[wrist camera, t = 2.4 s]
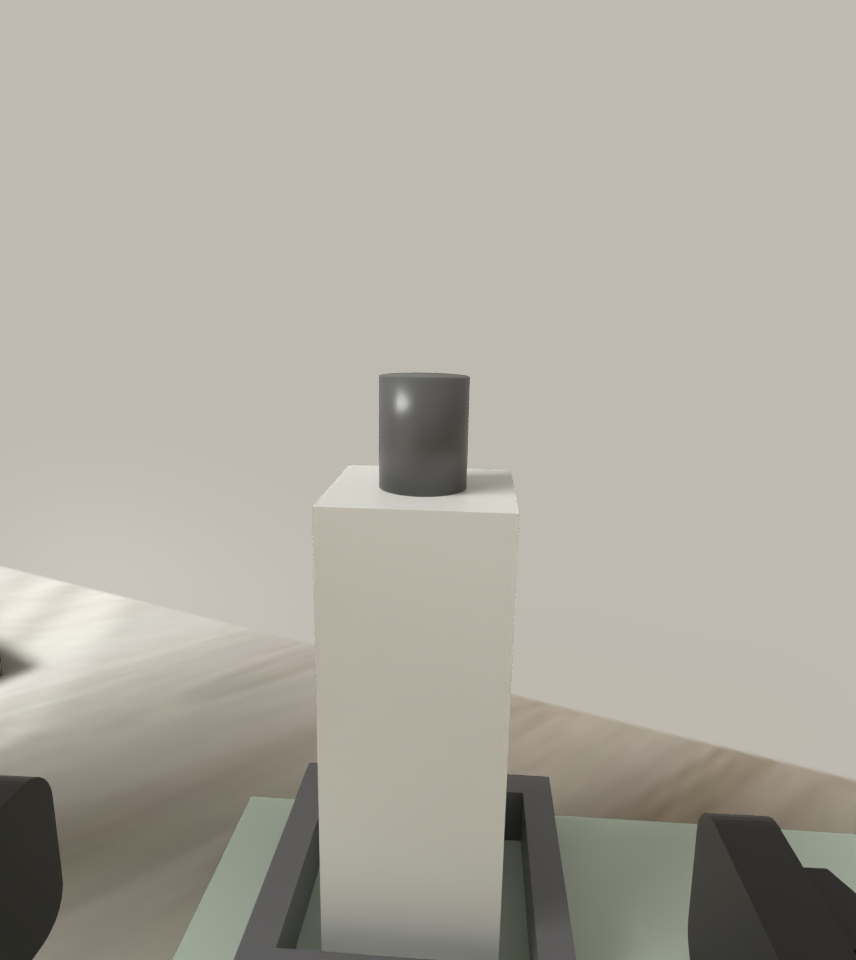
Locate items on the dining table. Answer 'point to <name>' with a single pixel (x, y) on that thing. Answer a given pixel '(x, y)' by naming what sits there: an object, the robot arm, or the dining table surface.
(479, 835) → the white square bottle
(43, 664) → the dining table surface
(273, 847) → the panel
